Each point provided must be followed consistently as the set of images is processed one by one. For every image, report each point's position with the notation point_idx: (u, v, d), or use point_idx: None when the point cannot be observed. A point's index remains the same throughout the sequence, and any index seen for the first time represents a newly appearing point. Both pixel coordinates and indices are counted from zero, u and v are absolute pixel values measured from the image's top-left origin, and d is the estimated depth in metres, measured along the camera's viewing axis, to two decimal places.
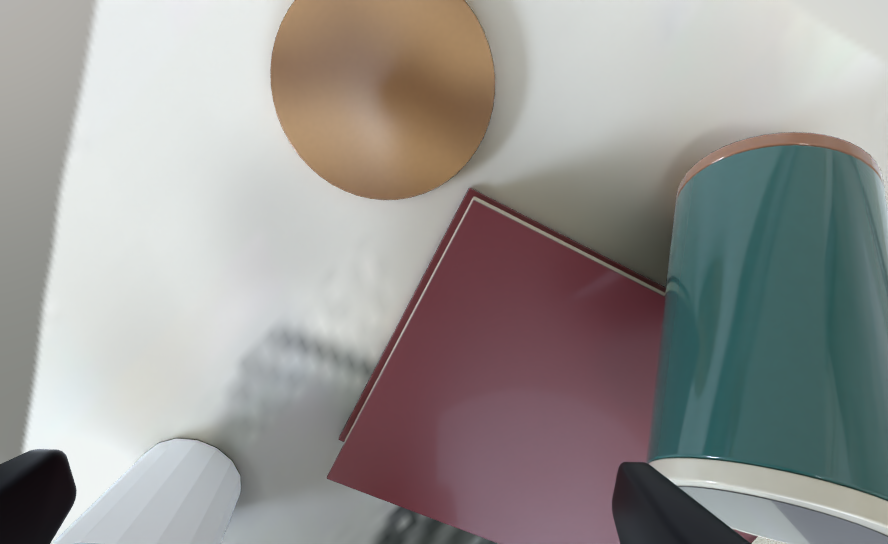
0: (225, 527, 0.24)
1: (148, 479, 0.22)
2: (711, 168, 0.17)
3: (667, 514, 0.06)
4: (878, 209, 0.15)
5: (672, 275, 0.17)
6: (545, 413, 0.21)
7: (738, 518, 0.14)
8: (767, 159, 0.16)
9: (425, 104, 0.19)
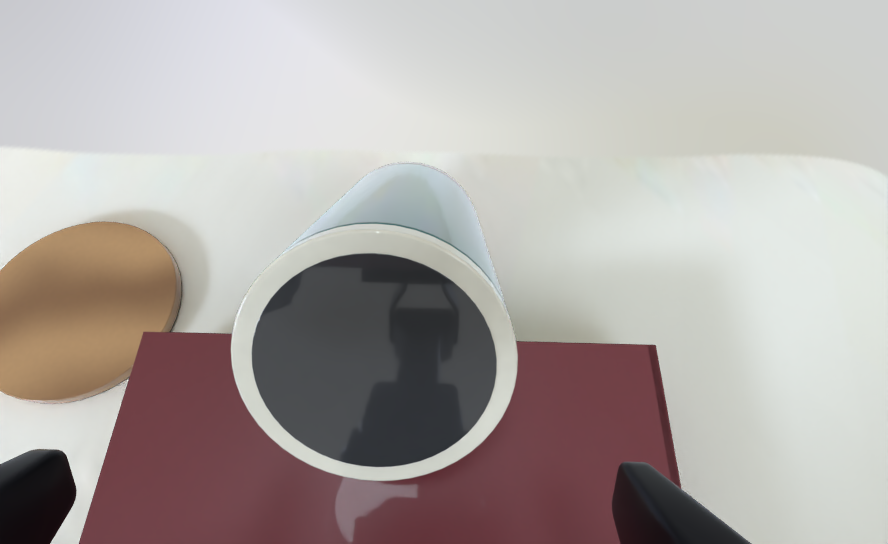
0: None
1: None
2: None
3: (667, 514, 0.06)
4: (418, 170, 0.19)
5: None
6: (301, 535, 0.16)
7: (376, 408, 0.11)
8: None
9: (116, 299, 0.22)
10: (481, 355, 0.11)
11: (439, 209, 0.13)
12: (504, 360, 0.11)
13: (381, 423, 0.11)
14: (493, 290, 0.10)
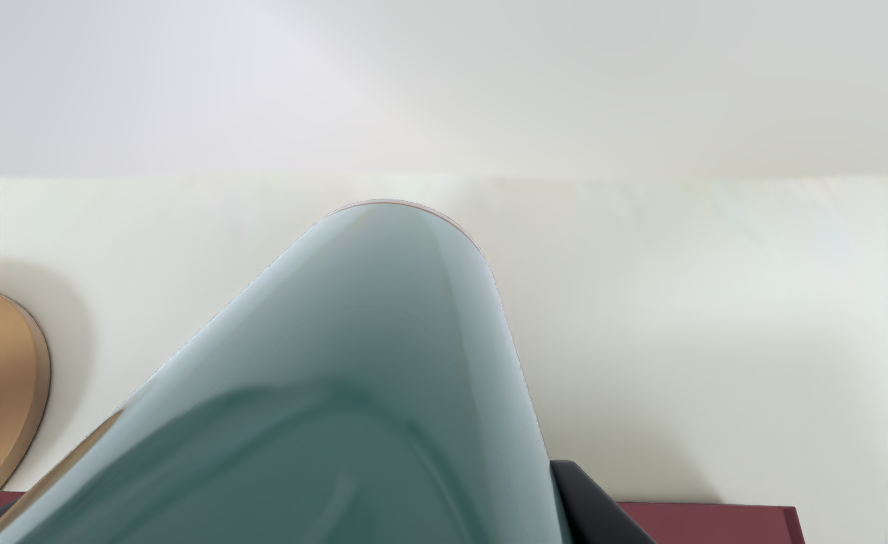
0: None
1: None
2: None
3: (579, 513, 0.06)
4: (400, 220, 0.11)
5: None
6: None
7: None
8: None
9: None
10: None
11: (431, 361, 0.06)
12: None
13: None
14: None
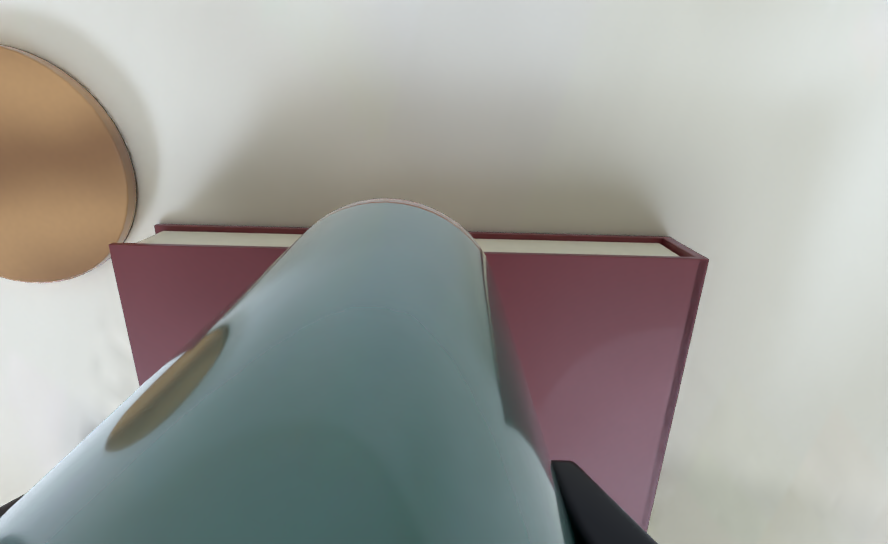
0: None
1: None
2: None
3: (579, 512, 0.06)
4: (401, 219, 0.11)
5: None
6: None
7: None
8: None
9: (51, 167, 0.18)
10: None
11: (432, 358, 0.06)
12: None
13: None
14: None
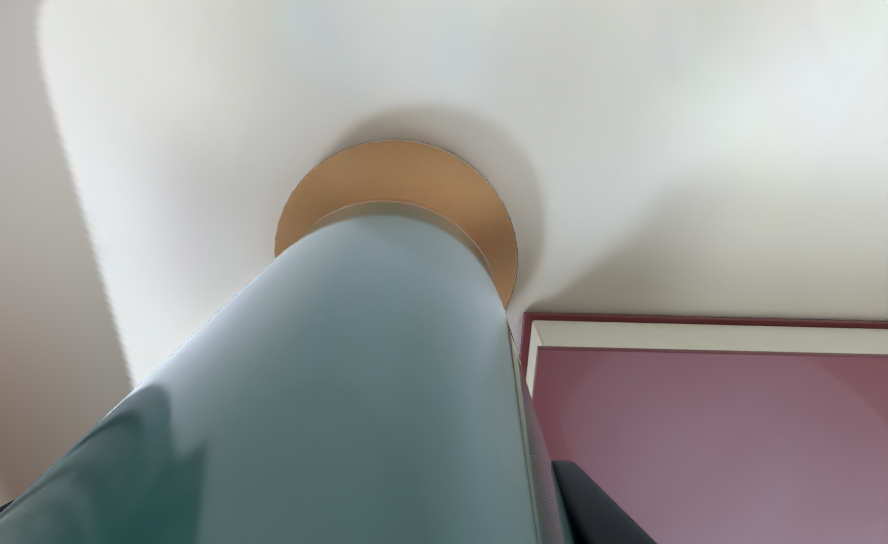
0: None
1: None
2: None
3: (579, 512, 0.06)
4: (400, 218, 0.11)
5: None
6: (709, 513, 0.18)
7: None
8: None
9: None
10: None
11: (431, 357, 0.06)
12: None
13: None
14: None
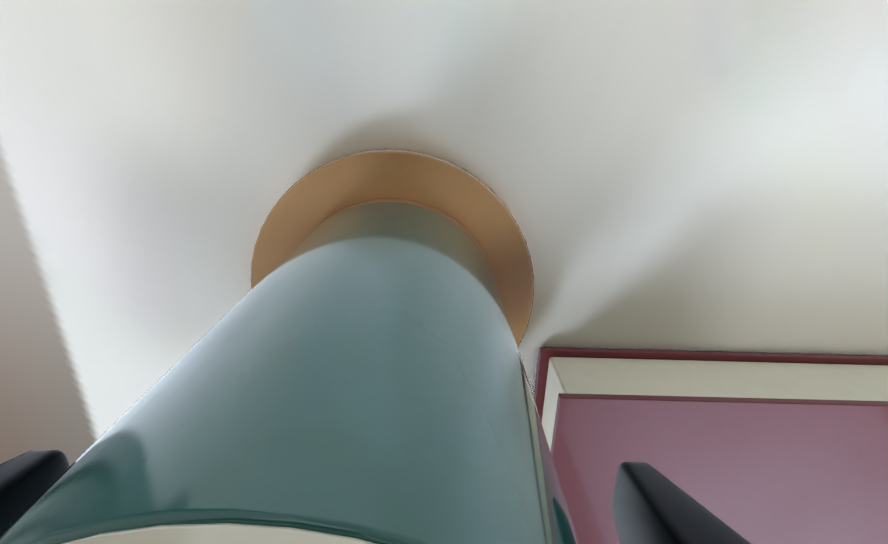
0: None
1: None
2: None
3: (667, 514, 0.06)
4: (405, 217, 0.12)
5: None
6: None
7: None
8: None
9: None
10: None
11: (438, 343, 0.06)
12: None
13: None
14: None
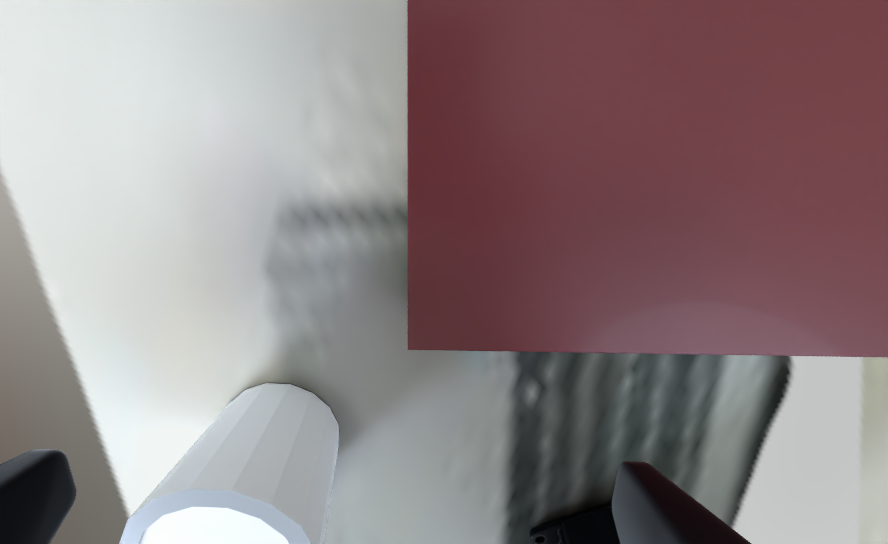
0: (330, 459, 0.20)
1: (219, 428, 0.19)
2: None
3: (667, 514, 0.06)
4: None
5: None
6: (636, 141, 0.15)
7: None
8: None
9: None
10: None
11: None
12: None
13: None
14: None
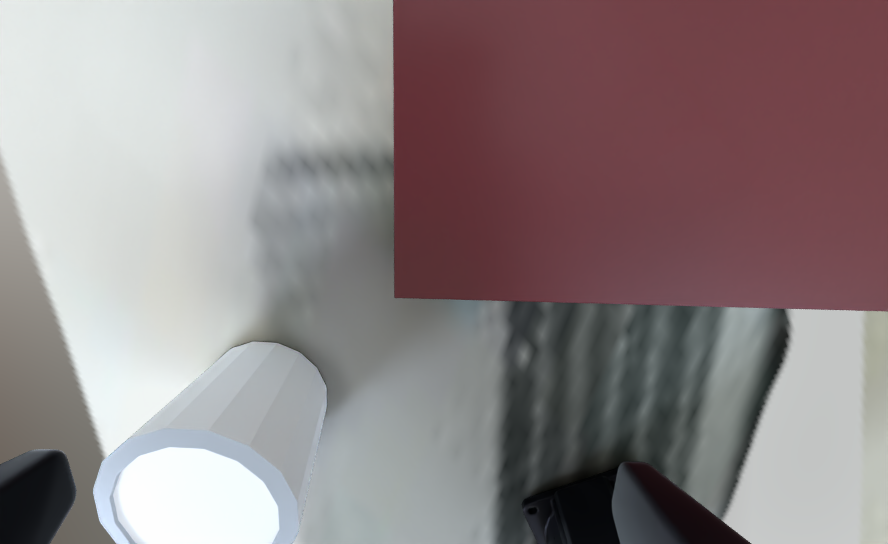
0: (315, 416, 0.20)
1: (202, 379, 0.18)
2: None
3: (667, 514, 0.06)
4: None
5: None
6: (628, 76, 0.15)
7: None
8: None
9: None
10: None
11: None
12: None
13: None
14: None
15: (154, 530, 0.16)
